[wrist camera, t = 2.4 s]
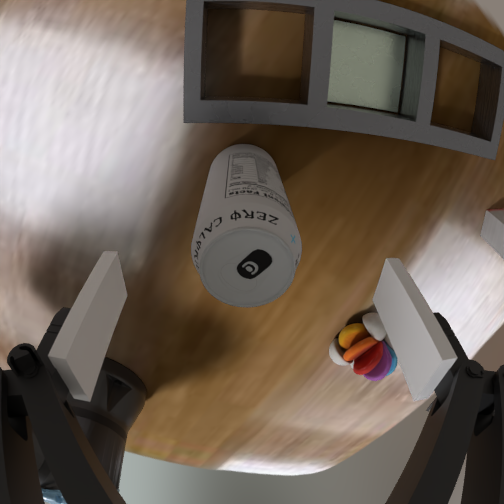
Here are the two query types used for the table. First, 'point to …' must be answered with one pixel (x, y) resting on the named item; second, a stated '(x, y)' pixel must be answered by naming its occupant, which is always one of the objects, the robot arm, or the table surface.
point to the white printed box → (494, 230)
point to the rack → (357, 74)
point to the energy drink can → (245, 230)
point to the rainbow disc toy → (365, 348)
